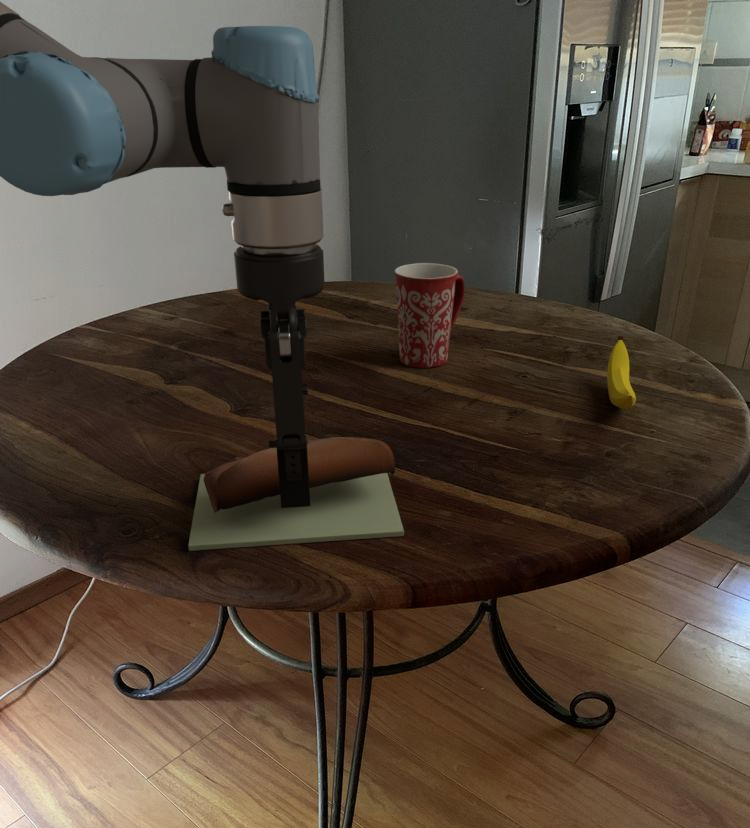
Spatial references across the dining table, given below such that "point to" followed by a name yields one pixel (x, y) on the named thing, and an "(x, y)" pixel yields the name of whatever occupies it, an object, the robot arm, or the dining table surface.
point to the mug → (427, 311)
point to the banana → (620, 377)
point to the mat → (300, 517)
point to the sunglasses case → (324, 466)
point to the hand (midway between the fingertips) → (294, 479)
